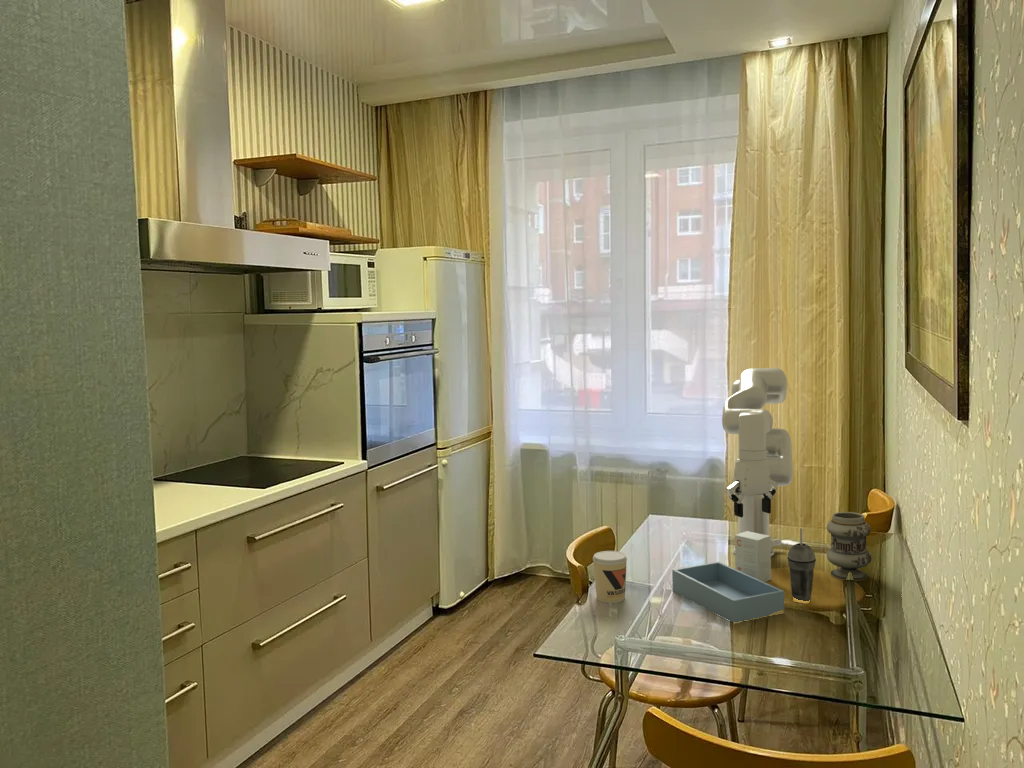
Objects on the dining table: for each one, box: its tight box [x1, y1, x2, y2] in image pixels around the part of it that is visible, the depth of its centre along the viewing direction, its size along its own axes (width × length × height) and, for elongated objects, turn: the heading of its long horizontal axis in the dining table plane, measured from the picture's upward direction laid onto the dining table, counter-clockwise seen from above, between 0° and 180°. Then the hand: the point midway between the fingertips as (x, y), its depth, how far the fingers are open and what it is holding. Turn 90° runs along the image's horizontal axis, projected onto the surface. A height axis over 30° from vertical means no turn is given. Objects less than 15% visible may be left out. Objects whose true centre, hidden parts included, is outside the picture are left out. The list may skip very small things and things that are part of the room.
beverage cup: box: [786, 528, 817, 601], centre depth 216 cm, size 7×7×20 cm
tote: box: [671, 561, 785, 622], centre depth 218 cm, size 16×28×6 cm, turn 22°
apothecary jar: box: [826, 511, 872, 582], centre depth 235 cm, size 12×12×18 cm
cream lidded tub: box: [592, 550, 628, 604], centre depth 223 cm, size 9×9×12 cm
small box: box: [734, 531, 772, 583], centre depth 235 cm, size 8×6×13 cm
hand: (752, 514), depth 233 cm, fingers open, 9 cm apart
